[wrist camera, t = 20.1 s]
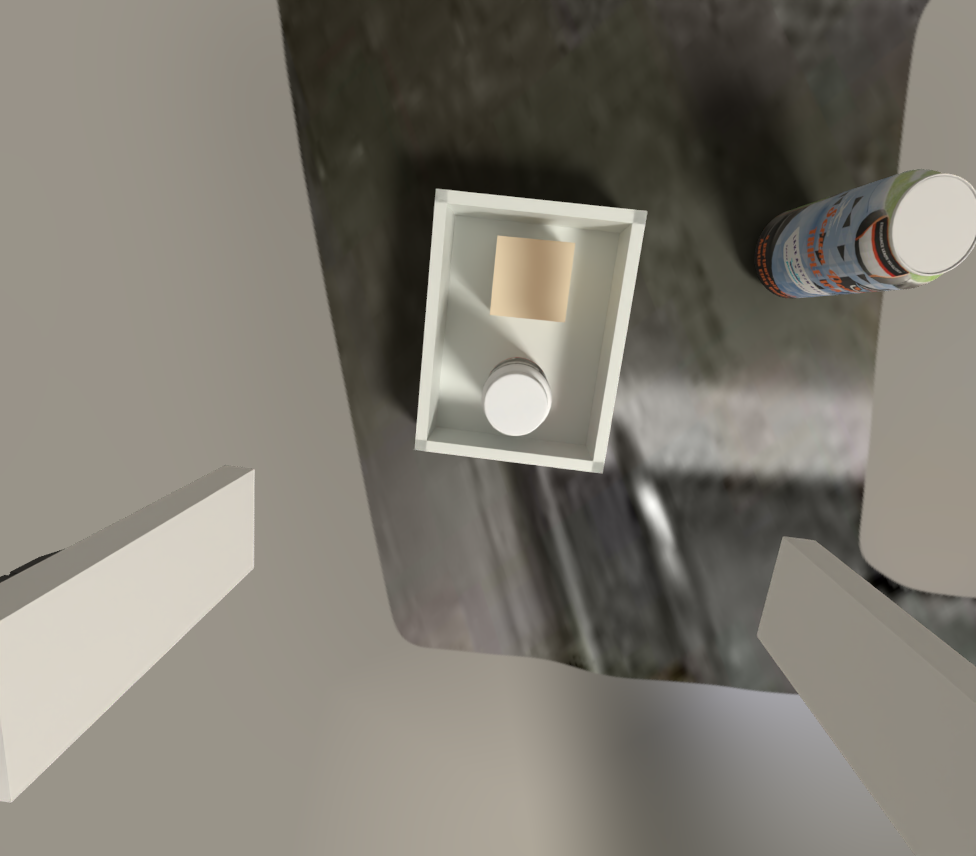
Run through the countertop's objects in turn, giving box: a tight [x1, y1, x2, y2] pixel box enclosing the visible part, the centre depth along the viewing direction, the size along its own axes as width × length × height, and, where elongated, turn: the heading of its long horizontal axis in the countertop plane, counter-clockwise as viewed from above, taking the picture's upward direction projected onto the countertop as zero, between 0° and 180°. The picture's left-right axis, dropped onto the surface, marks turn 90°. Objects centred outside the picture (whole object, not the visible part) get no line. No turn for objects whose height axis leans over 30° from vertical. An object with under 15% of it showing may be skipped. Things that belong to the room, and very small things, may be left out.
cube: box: [490, 235, 575, 322], centre depth 36 cm, size 5×5×5 cm
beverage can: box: [754, 169, 976, 298], centre depth 31 cm, size 6×7×12 cm
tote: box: [415, 189, 647, 473], centre depth 37 cm, size 18×14×5 cm
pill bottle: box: [481, 357, 552, 436], centre depth 36 cm, size 5×5×8 cm
